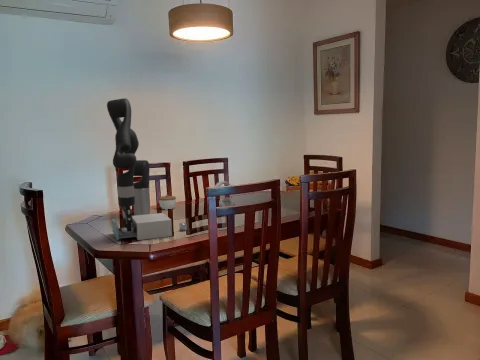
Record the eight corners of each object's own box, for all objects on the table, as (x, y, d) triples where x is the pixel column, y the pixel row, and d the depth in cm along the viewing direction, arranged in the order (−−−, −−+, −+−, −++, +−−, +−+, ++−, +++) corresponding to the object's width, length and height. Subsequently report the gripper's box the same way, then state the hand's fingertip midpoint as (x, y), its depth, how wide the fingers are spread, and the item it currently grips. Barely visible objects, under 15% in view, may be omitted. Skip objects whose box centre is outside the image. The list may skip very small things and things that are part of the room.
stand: (178, 229, 205) (178, 223, 204) (185, 229, 206) (185, 222, 206) (180, 231, 202) (180, 224, 201) (187, 230, 203) (187, 223, 202)
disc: (120, 231, 194) (120, 228, 194) (133, 230, 197) (133, 226, 197) (122, 234, 189) (122, 230, 189) (135, 232, 191) (135, 229, 191)
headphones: (219, 218, 231) (219, 183, 228) (207, 216, 236) (206, 182, 234) (238, 212, 246) (238, 180, 244) (226, 211, 251) (225, 179, 249)
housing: (131, 231, 203) (131, 215, 202) (163, 228, 209) (162, 212, 208) (137, 240, 186) (137, 223, 185) (171, 236, 193) (171, 219, 192)
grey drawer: (112, 231, 199) (111, 219, 198) (144, 227, 205) (143, 216, 204) (116, 239, 183) (116, 226, 182) (151, 235, 189) (150, 223, 188)
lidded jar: (157, 208, 262) (156, 194, 261) (172, 206, 267) (172, 192, 266) (162, 211, 253) (161, 196, 252) (178, 209, 258) (178, 195, 257)
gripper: (116, 194, 196) (118, 226, 198) (120, 198, 183) (121, 233, 185) (132, 192, 199) (133, 225, 201) (136, 197, 186) (138, 231, 188)
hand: (127, 229), depth 193 cm, fingers open, 8 cm apart
